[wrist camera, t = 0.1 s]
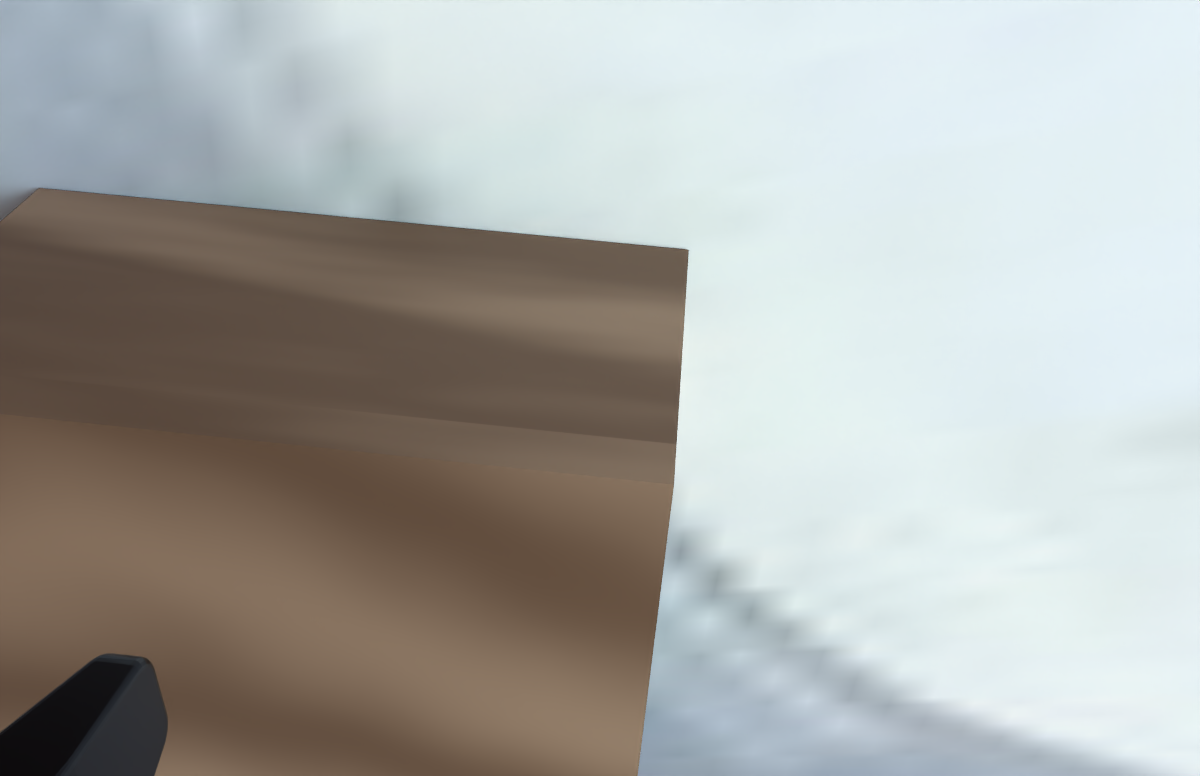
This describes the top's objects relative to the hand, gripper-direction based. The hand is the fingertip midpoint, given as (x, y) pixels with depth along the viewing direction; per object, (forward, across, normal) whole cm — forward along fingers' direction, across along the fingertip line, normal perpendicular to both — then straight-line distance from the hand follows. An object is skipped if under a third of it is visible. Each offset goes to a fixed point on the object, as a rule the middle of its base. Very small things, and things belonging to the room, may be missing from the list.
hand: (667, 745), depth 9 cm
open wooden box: (+15, +7, +11) cm, 20 cm away
